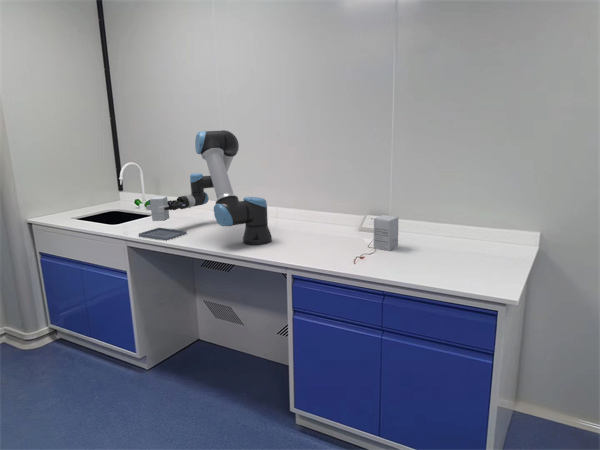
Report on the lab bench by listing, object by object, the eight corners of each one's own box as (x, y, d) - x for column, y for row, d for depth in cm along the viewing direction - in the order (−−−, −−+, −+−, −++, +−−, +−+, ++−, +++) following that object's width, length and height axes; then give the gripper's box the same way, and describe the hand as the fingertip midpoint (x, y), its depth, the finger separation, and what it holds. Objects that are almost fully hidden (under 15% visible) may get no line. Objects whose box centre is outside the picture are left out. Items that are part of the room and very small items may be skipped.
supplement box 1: (169, 218, 243) (167, 196, 239) (164, 221, 235) (162, 198, 232) (157, 218, 243) (155, 196, 240) (151, 221, 236) (149, 198, 233)
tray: (186, 234, 242) (186, 231, 242) (166, 240, 229) (166, 237, 229) (159, 230, 253) (158, 227, 252) (138, 236, 240) (138, 233, 240)
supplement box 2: (381, 243, 212) (382, 214, 208) (398, 246, 206) (399, 216, 203) (372, 248, 205) (373, 218, 202) (389, 251, 200) (390, 220, 196)
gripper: (198, 210, 246) (166, 217, 229) (174, 206, 259) (141, 213, 242) (197, 197, 244) (164, 204, 227) (172, 194, 257) (140, 200, 240)
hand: (152, 208), depth 234 cm, fingers closed on supplement box 1, 10 cm apart
